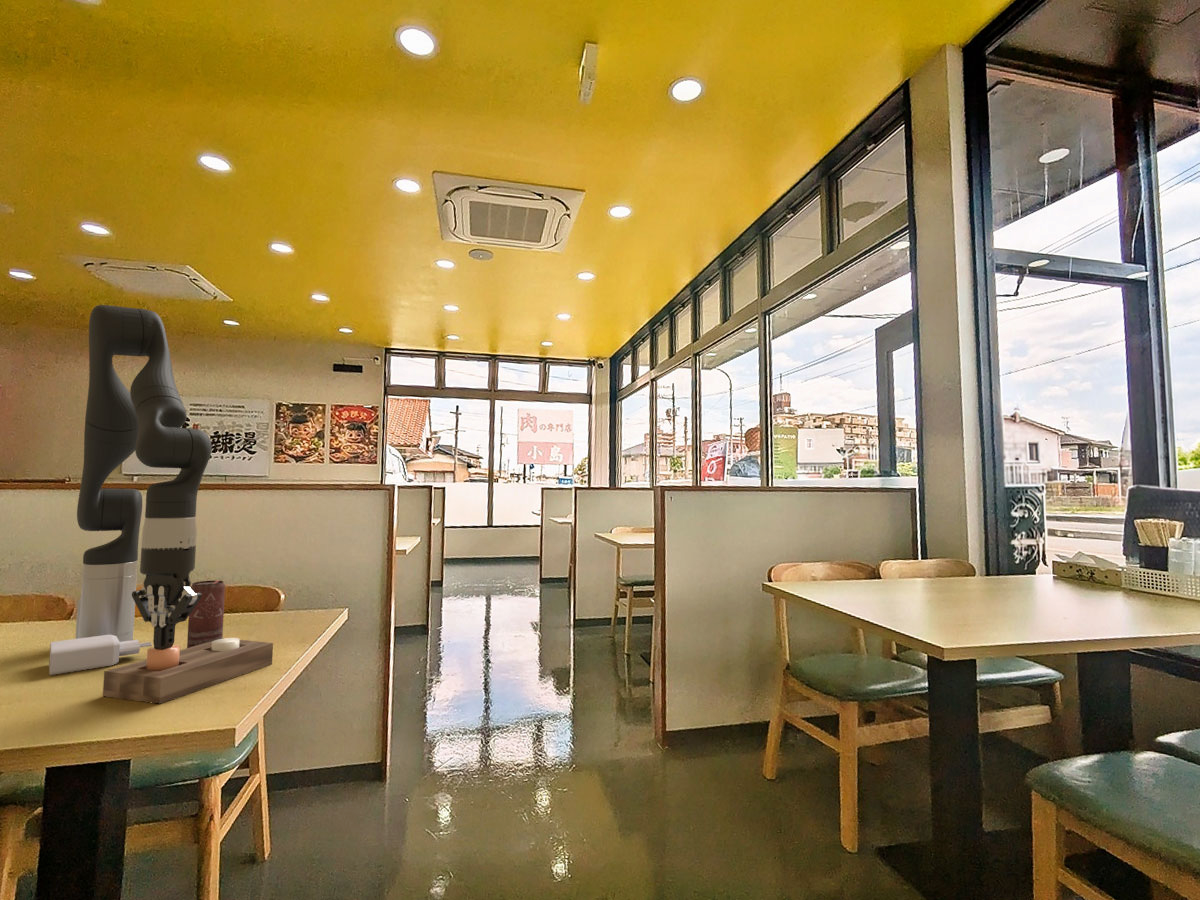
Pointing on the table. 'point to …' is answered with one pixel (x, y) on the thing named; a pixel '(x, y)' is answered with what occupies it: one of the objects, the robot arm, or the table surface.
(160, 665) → the terracotta button
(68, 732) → the table surface
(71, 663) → the charger
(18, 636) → the table surface
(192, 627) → the can
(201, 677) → the button panel
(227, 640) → the offwhite button
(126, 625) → the robot arm
